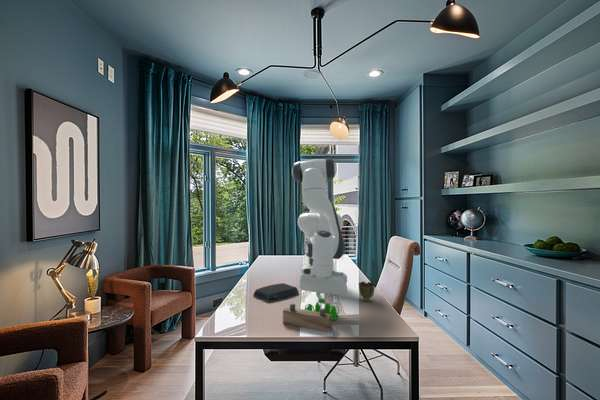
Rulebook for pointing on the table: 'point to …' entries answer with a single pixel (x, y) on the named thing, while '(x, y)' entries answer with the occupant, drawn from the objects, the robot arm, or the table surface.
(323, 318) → the walnut block
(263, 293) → the external hard drive
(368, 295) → the cup
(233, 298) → the table surface
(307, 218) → the robot arm
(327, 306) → the chandelier
